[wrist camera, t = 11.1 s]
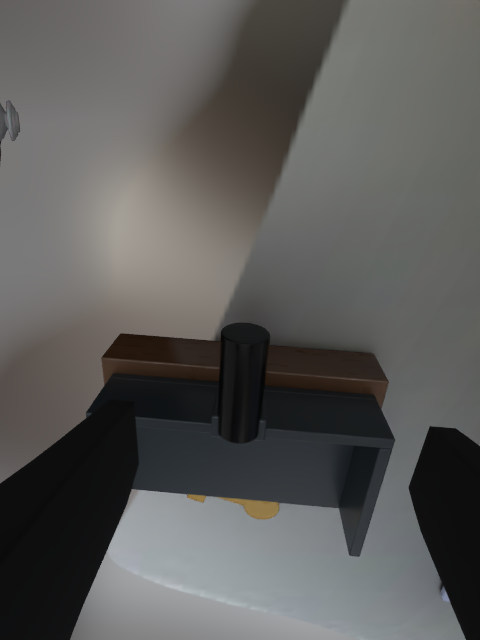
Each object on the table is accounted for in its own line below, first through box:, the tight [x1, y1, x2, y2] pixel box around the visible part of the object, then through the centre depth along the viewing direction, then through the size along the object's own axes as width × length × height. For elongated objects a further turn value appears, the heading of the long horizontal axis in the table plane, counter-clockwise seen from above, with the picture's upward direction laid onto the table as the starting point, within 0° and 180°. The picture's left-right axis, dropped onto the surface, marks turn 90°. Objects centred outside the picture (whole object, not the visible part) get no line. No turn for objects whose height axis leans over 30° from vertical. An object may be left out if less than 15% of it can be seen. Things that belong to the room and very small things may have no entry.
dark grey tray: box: [86, 323, 395, 557], centre depth 15 cm, size 11×12×4 cm
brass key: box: [187, 494, 279, 519], centre depth 23 cm, size 6×2×1 cm, turn 71°
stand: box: [102, 334, 389, 408], centre depth 19 cm, size 8×13×2 cm, turn 87°
